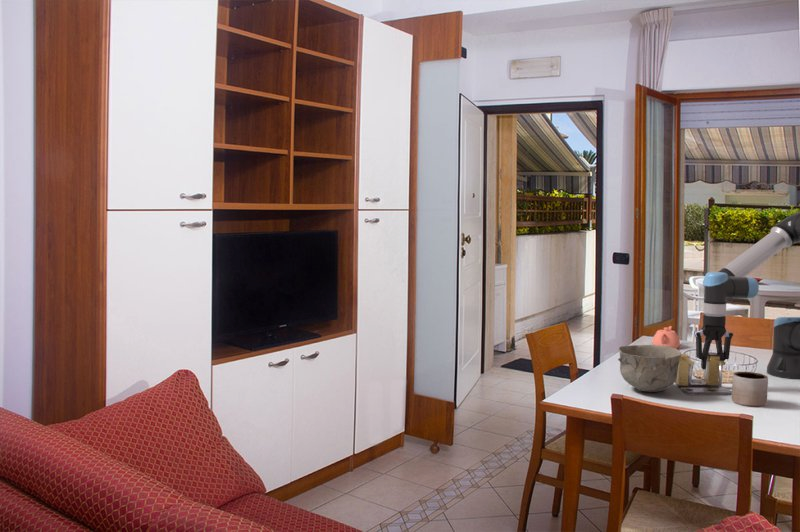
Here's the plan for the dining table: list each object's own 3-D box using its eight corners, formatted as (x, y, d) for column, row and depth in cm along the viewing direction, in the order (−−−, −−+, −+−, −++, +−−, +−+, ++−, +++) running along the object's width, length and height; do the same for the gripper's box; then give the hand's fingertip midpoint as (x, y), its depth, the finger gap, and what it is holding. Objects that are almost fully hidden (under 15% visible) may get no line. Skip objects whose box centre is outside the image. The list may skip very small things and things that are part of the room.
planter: (724, 398, 248) (726, 371, 247) (754, 398, 249) (756, 371, 248) (742, 407, 237) (743, 379, 236) (773, 407, 238) (775, 378, 237)
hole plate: (726, 390, 258) (726, 387, 258) (733, 395, 252) (733, 392, 252) (681, 390, 259) (681, 387, 259) (688, 394, 253) (688, 391, 253)
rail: (717, 386, 264) (717, 383, 264) (719, 388, 262) (719, 385, 262) (676, 386, 264) (676, 383, 264) (678, 387, 262) (678, 384, 262)
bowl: (649, 402, 243) (651, 358, 241) (603, 387, 262) (604, 346, 261) (694, 394, 253) (696, 352, 252) (647, 380, 272) (648, 341, 271)
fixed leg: (683, 382, 266) (684, 353, 265) (696, 390, 254) (697, 360, 253) (674, 382, 266) (675, 353, 265) (686, 390, 254) (687, 360, 253)
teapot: (648, 349, 332) (648, 328, 331) (657, 342, 347) (658, 323, 346) (675, 352, 326) (676, 331, 325) (683, 345, 341) (684, 325, 340)
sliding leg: (713, 381, 265) (714, 352, 264) (727, 390, 253) (729, 359, 252) (703, 381, 265) (704, 352, 264) (716, 390, 253) (718, 359, 252)
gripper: (732, 313, 264) (729, 375, 266) (687, 312, 264) (684, 375, 266) (742, 316, 257) (739, 380, 259) (695, 316, 257) (692, 380, 259)
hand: (711, 377), depth 263 cm, fingers closed on sliding leg, 3 cm apart
